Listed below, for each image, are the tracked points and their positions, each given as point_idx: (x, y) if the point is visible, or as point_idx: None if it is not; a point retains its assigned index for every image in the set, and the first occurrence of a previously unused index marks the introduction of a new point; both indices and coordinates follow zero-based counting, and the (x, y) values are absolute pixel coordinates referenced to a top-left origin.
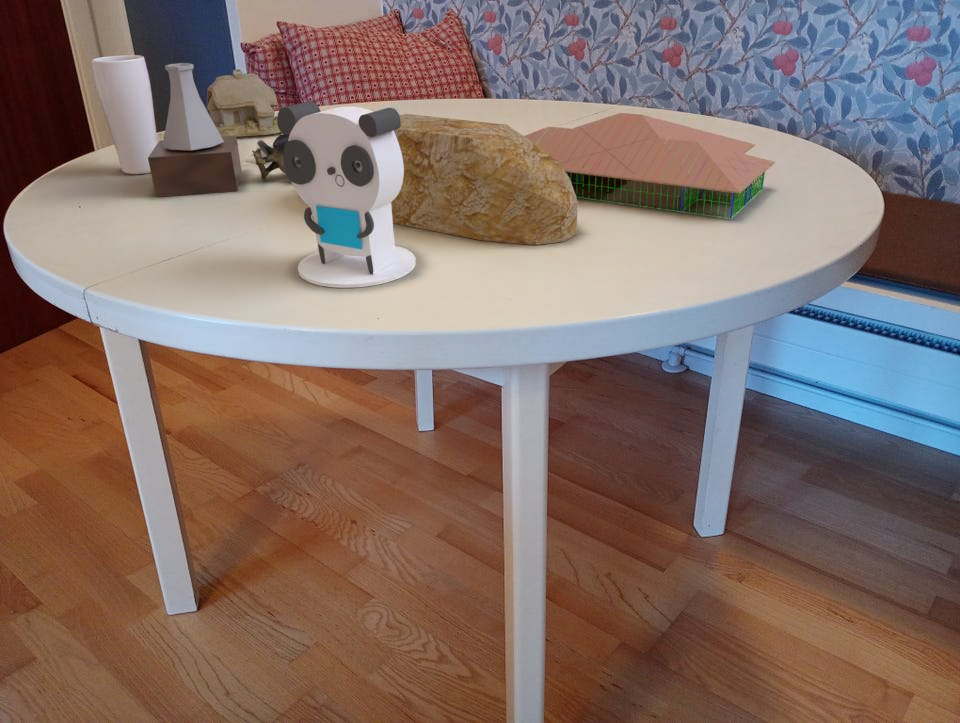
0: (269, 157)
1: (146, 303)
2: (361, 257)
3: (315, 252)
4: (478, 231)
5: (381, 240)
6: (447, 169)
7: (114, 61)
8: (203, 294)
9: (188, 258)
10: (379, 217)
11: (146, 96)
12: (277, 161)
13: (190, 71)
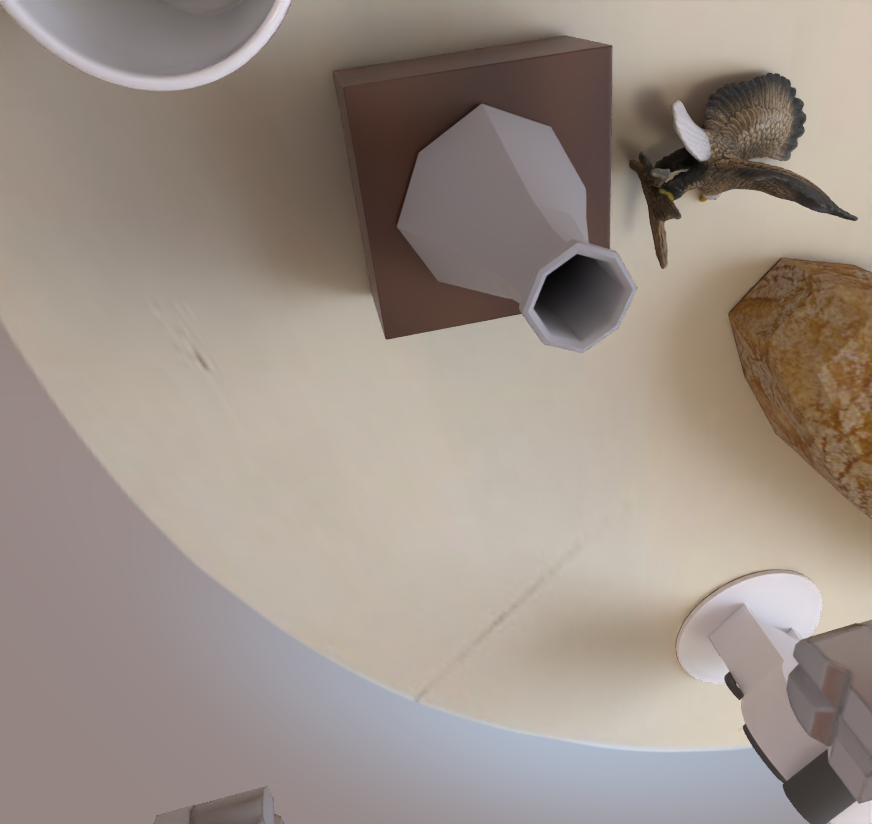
0: (688, 189)
1: (505, 725)
2: (759, 617)
3: (705, 605)
4: None
5: None
6: None
7: (188, 83)
8: (566, 702)
9: (528, 614)
10: None
11: None
12: (702, 188)
13: (611, 290)
